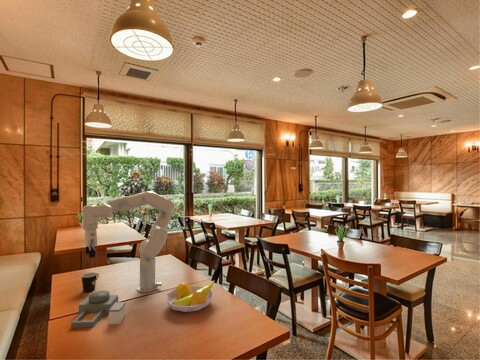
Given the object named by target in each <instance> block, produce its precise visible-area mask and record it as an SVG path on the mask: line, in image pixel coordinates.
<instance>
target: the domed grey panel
mask: <svg viewBox="0 0 480 360" xmlns="http://www.w3.org/2000/svg"><path fill="white" fill-rule="evenodd" d="M115 302H119V294H110V291H109V290H106V289H105V290H104V289H102V290H97V291H92V292H90V294H89V295H87V297H85V299H84V300H83V301H81V302H80V303H79V304H78V316H76V317H75V318H74V319H73V320H72V321H71V323H70V328H72V329H75V328H76V329H77V328H81V329H82V328H94V327H95V325H97V323H98V322H99V321H100V319H101V318H102V317H103V316H104V315H109V310H110V308H111V307H112V306H113V305H114V304H115Z"/></svg>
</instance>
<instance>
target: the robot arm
mask: <svg viewBox="0 0 480 360" xmlns="http://www.w3.org/2000/svg"><path fill="white" fill-rule="evenodd" d="M147 205H149V207H152V208H154V209H156V210H158V216H157V218H156V220H155V221H154V223H153V225H152V226H151V228H150V230H149V232H148V233H149V237H150V238H149V239H145V240H142V241H141V243H140V244H139V248H138V250H139V251H138V252H139V285H138V286H137V287H136V290H137V292H139V293H151V292H154V291H156V290H157V289H158V287H162V286H163V283H162V282H161V281H159V282H158V281H157V279H156V257H157V256H158V255H159V254H160V252H161V250H162V248H163V247H164V245H165V243H166V241H167V240H168V236H169V233H168V230H167V228H168V226H169V224H170V222H171V220H172V216H173V215H172V214H173V213H172V212H173V209H174V206H175V205H174V203H173V201H172V200H171V199H168V198H166V197H164V196H163V195H160V194H158V193H156V192H154V191H150V190H147V191H142V192H139V193H135V194H132V195H129V196H125V197H121V198H117V199H113V200H110V201H109V200H108V201H106V202H103V203H100V204H99V205H96V204H87V205H84V206H83V207H82V230H84V243H85V254H86V255H88V259H91V258H92V259H94V258H95V257H96V246H98V234H97V230H98V228H99V226H98V223H99V220H98V218H109V217H110V216H112V214H113V213H116V212H119V211H120V212H121V211H130V210H135V209H137V208H140V207H144V206H147Z"/></svg>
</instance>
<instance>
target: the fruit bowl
mask: <svg viewBox="0 0 480 360" xmlns="http://www.w3.org/2000/svg"><path fill="white" fill-rule="evenodd" d="M214 283H215V280H212V282H210V283H208V284H206V285H204V286H200V285H197V286H196V285H190V284H188V283H186V282H182V283H180V284H178V285H177V286H176V288H174V289H173V290H171V291H169V292H168V293H167V294H166V295H165V298H166V299H165V302H166V303H167V305H168V306H169V307H170V308H171V309H172V310H173V311H178V312H179V311H180V312H183V313H184V312H185V313H190V312H197V311H199V310H202V309H203V308H206V307H208V306H210V304H211V302H212V300H213V298H214V294H213V292H212V290H211V289H212V288H213V286H214ZM190 305H192V306H190Z"/></svg>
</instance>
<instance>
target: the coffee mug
mask: <svg viewBox="0 0 480 360" xmlns="http://www.w3.org/2000/svg"><path fill="white" fill-rule="evenodd" d="M99 275H100V274H99V273H98V272H91V271H90V272H86V273H83V274H82V275H80V276H81V285H82V291H83V293H85V294H87V293H93V292H95V290H96V285H97V284H96V283H97V280H98V278H99V277H100V276H99Z"/></svg>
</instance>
